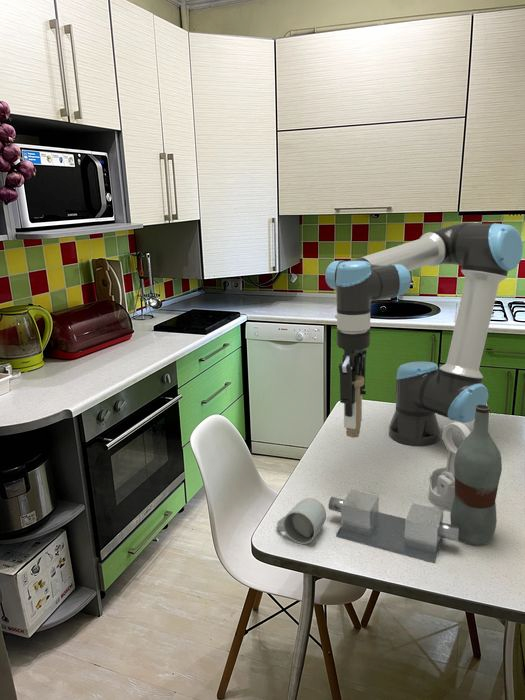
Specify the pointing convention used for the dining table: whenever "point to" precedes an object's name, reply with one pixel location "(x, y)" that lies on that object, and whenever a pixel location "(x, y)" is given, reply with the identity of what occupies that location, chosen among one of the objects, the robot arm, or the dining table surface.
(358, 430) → the handle
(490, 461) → the bottle
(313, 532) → the ceramic mug
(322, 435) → the dining table surface
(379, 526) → the shaft bed
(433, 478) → the engine component
